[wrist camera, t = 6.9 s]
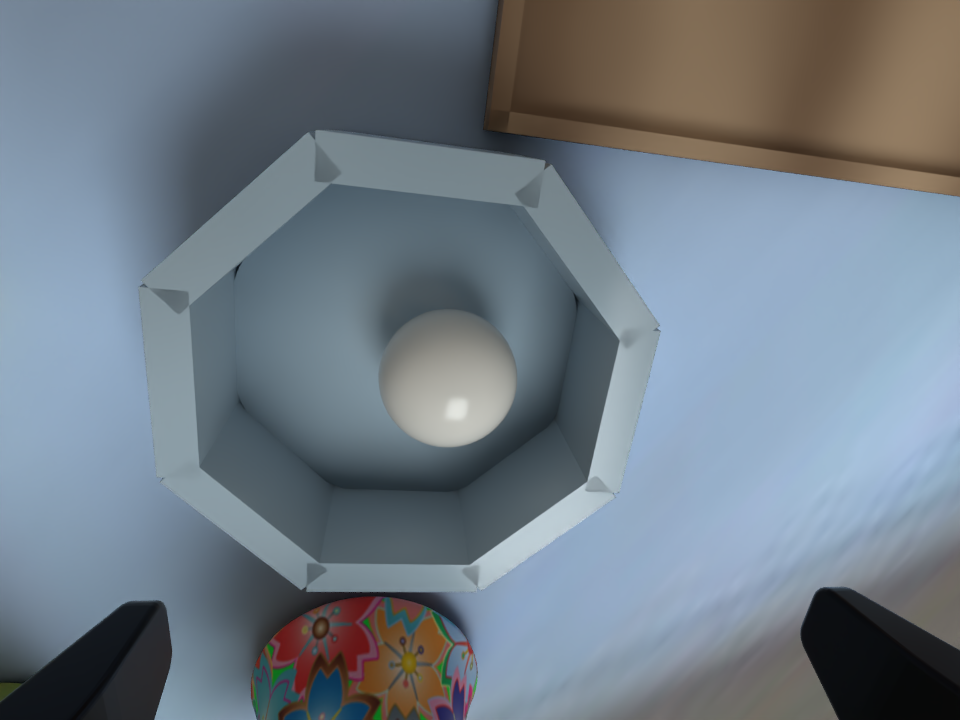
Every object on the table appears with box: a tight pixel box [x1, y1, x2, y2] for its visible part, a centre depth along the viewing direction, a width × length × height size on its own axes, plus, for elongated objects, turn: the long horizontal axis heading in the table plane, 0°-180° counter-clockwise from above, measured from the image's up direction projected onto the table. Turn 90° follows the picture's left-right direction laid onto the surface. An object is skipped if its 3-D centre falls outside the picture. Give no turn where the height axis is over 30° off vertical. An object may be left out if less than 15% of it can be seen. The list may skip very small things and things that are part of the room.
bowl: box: [138, 130, 661, 592], centre depth 16 cm, size 12×12×4 cm
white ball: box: [378, 309, 517, 447], centre depth 15 cm, size 4×4×4 cm
